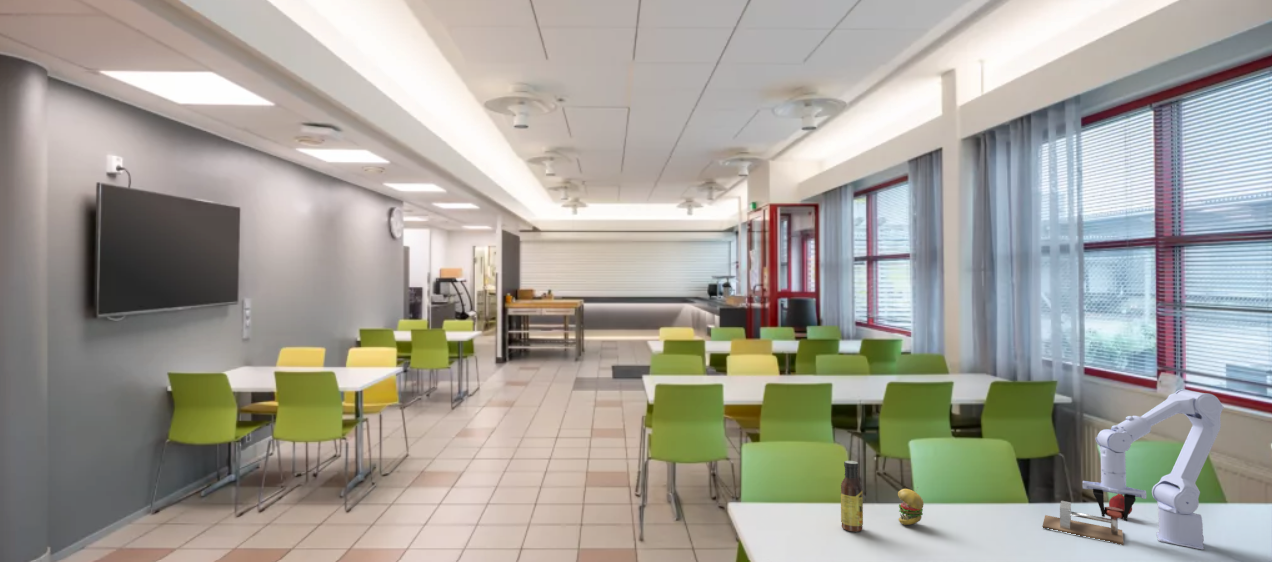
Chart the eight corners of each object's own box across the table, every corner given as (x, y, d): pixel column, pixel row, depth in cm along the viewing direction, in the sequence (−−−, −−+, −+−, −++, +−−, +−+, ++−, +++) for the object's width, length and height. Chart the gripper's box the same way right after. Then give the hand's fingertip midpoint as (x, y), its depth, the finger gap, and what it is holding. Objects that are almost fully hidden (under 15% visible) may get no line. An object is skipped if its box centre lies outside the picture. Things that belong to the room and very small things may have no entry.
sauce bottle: (864, 533, 172) (864, 465, 173) (842, 531, 174) (842, 464, 174) (860, 525, 179) (860, 460, 180) (839, 523, 180) (839, 458, 181)
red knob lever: (1123, 533, 172) (1123, 508, 173) (1124, 537, 169) (1123, 513, 169) (1071, 522, 180) (1071, 499, 180) (1071, 526, 177) (1070, 503, 177)
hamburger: (900, 518, 185) (900, 480, 186) (925, 523, 181) (925, 484, 181) (895, 526, 179) (895, 486, 179) (921, 531, 175) (921, 491, 175)
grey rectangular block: (1070, 521, 182) (1070, 502, 182) (1070, 529, 175) (1069, 509, 176) (1061, 520, 183) (1061, 500, 183) (1060, 527, 177) (1059, 507, 177)
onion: (1133, 522, 184) (1132, 496, 184) (1109, 518, 188) (1109, 493, 188) (1131, 517, 189) (1131, 492, 189) (1108, 513, 192) (1108, 488, 193)
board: (1122, 532, 176) (1122, 529, 176) (1123, 545, 166) (1123, 542, 166) (1045, 517, 187) (1045, 515, 187) (1042, 528, 178) (1042, 526, 178)
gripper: (1082, 469, 174) (1083, 515, 174) (1146, 479, 165) (1147, 527, 165) (1082, 464, 180) (1083, 509, 179) (1145, 473, 171) (1146, 520, 170)
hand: (1114, 517), depth 172 cm, fingers closed on red knob lever, 4 cm apart
